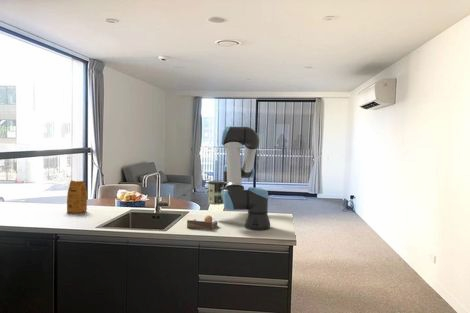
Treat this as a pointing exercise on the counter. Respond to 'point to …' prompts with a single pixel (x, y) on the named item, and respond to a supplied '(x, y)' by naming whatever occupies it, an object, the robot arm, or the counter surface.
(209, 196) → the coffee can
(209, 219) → the ball
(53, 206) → the counter surface
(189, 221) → the brown wooden tray
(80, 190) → the coffee package
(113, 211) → the counter surface
